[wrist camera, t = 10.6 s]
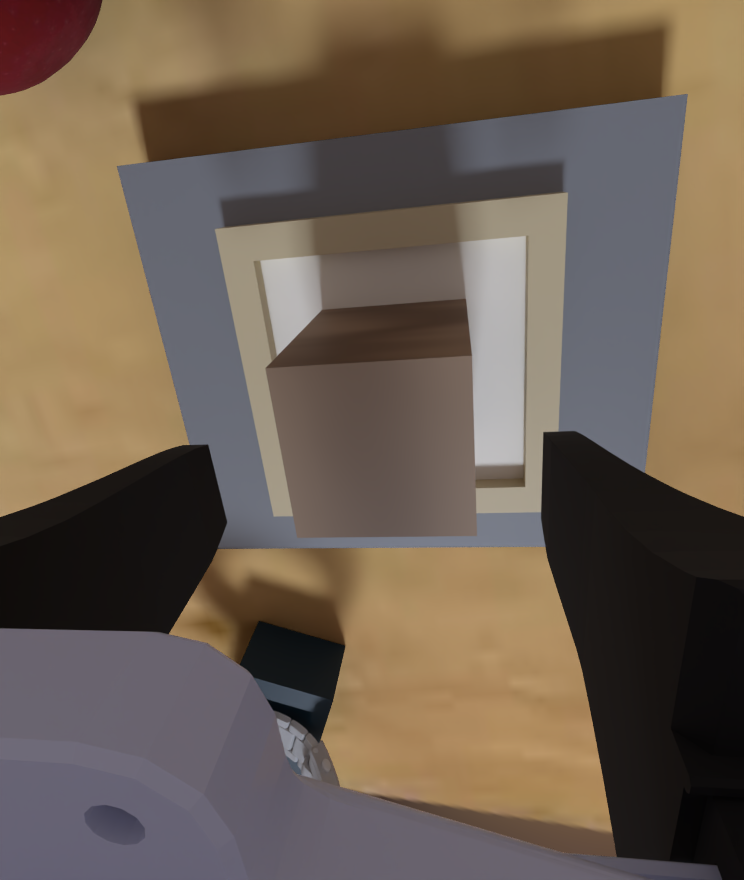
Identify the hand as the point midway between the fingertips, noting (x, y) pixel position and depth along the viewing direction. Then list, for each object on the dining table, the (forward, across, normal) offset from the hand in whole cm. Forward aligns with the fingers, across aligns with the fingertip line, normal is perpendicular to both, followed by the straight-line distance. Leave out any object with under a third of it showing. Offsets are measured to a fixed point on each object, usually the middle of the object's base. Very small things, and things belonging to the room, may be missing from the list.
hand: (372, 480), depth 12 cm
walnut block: (+7, 0, 0) cm, 7 cm away
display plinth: (+9, 0, 0) cm, 9 cm away
